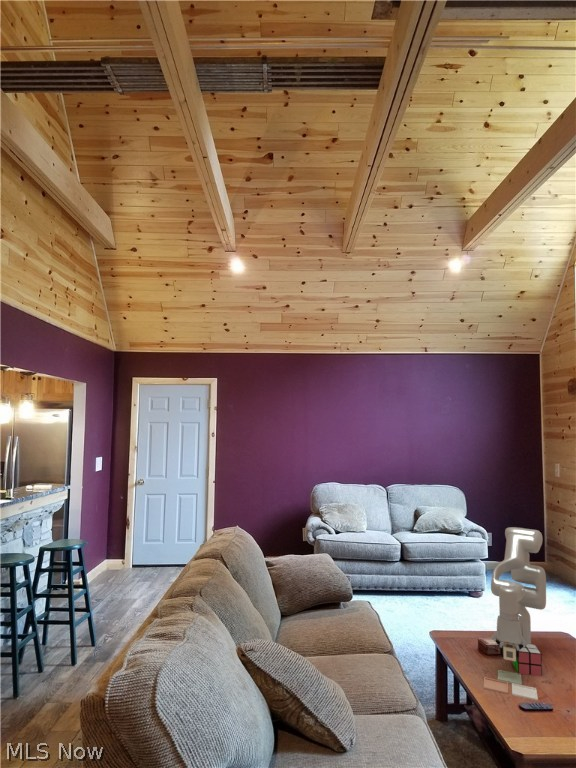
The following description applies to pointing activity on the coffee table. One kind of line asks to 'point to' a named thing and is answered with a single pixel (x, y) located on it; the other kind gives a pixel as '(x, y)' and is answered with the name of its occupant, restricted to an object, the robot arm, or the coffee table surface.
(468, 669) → the coffee table surface
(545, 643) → the coffee table surface
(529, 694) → the dish offwhite
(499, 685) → the dish terracotta
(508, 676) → the dish sage
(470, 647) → the coffee table surface
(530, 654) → the puzzle cube
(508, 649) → the cream cube
